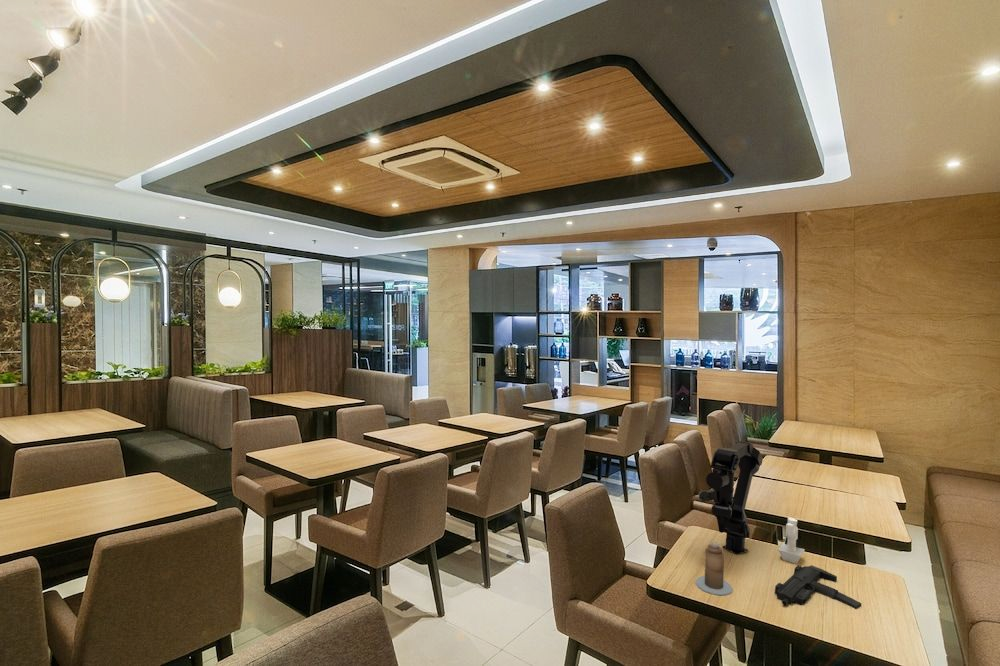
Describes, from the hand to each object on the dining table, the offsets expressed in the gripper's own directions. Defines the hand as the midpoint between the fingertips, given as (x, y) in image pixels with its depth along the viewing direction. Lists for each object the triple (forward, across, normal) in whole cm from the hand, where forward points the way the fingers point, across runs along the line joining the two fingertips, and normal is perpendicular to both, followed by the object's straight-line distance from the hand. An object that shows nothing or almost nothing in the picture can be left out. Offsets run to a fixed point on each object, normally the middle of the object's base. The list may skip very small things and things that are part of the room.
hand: (722, 528), depth 181 cm
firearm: (+13, +8, +30) cm, 33 cm away
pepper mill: (+13, +19, 0) cm, 23 cm away
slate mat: (+13, +19, 0) cm, 23 cm away
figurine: (+10, -16, +22) cm, 29 cm away
